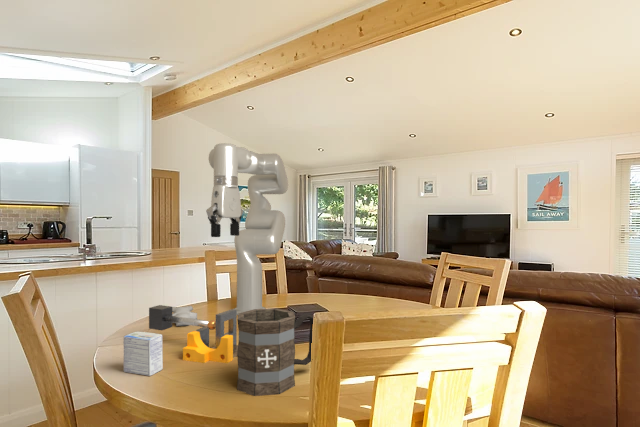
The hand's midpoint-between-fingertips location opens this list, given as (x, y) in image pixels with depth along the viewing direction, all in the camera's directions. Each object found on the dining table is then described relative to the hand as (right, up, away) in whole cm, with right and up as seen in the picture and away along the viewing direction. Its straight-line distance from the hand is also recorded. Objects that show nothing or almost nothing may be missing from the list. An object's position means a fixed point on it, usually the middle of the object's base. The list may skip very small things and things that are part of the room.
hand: (225, 236), depth 130 cm
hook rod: (-8, -26, -15) cm, 31 cm away
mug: (+21, -31, -38) cm, 53 cm away
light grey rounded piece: (-17, -31, +11) cm, 37 cm away
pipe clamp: (+2, -31, -26) cm, 40 cm away
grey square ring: (+3, -30, -20) cm, 36 cm away
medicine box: (-12, -31, -33) cm, 47 cm away
